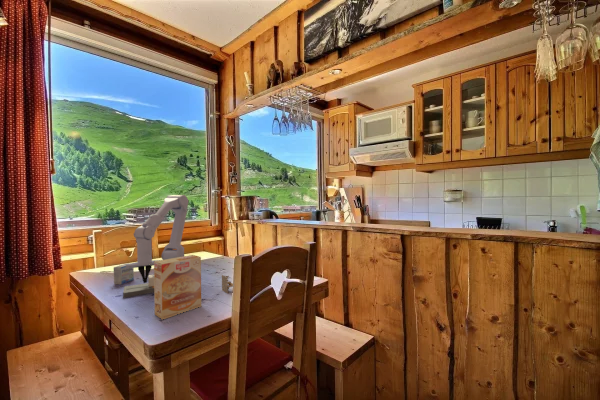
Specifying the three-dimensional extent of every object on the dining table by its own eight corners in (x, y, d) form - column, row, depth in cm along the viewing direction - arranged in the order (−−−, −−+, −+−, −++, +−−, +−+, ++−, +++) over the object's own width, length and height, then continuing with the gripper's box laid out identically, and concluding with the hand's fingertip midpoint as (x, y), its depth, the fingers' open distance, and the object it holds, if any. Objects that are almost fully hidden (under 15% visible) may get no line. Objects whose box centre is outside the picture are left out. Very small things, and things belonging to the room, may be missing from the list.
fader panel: (161, 285, 131) (161, 280, 131) (162, 291, 122) (162, 286, 122) (124, 290, 123) (124, 286, 123) (123, 297, 115) (123, 292, 115)
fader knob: (158, 282, 128) (158, 273, 128) (158, 285, 124) (158, 276, 124) (148, 283, 126) (148, 274, 126) (148, 286, 122) (148, 277, 122)
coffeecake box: (162, 320, 93) (161, 264, 93) (153, 314, 98) (152, 261, 98) (202, 306, 104) (201, 256, 104) (193, 302, 109) (192, 254, 109)
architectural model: (228, 289, 125) (228, 273, 125) (235, 293, 120) (235, 276, 120) (221, 291, 123) (221, 274, 123) (228, 295, 118) (228, 278, 118)
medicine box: (121, 284, 132) (120, 267, 132) (113, 284, 133) (113, 266, 133) (134, 280, 140) (133, 263, 140) (126, 279, 141) (126, 263, 141)
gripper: (125, 256, 116) (125, 287, 116) (162, 252, 123) (163, 281, 123) (126, 253, 122) (126, 283, 122) (162, 249, 129) (162, 278, 130)
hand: (145, 282), depth 123 cm, fingers closed
